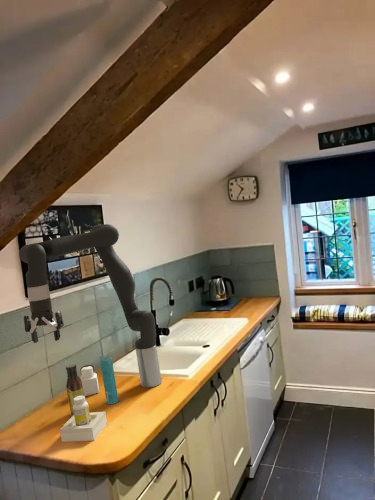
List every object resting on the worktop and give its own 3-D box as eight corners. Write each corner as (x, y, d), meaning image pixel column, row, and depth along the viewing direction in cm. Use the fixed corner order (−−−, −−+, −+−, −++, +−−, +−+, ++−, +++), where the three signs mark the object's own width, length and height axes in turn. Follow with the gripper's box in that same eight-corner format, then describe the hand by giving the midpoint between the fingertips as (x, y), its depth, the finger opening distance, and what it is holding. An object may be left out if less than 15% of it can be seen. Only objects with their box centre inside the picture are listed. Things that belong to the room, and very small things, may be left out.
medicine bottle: (83, 391, 197) (78, 365, 197) (98, 387, 199) (94, 362, 198) (82, 396, 190) (78, 370, 190) (99, 393, 192) (94, 367, 191)
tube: (123, 400, 180) (116, 355, 179) (115, 405, 176) (108, 359, 175) (109, 398, 184) (102, 354, 182) (101, 403, 180) (94, 358, 178)
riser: (77, 424, 163) (75, 413, 162) (107, 423, 160) (105, 411, 160) (62, 441, 151) (59, 429, 151) (94, 440, 149) (92, 427, 148)
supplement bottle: (84, 419, 159) (80, 393, 159) (94, 422, 156) (90, 395, 156) (72, 426, 155) (68, 399, 155) (82, 428, 152) (78, 401, 151)
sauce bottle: (72, 411, 176) (64, 363, 175) (88, 408, 177) (80, 361, 175) (69, 418, 170) (61, 368, 169) (85, 415, 170) (77, 366, 169)
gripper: (62, 294, 161) (69, 336, 162) (27, 298, 164) (34, 340, 165) (52, 297, 154) (59, 342, 155) (16, 302, 157) (23, 346, 158)
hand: (46, 341), depth 160 cm, fingers open, 8 cm apart
